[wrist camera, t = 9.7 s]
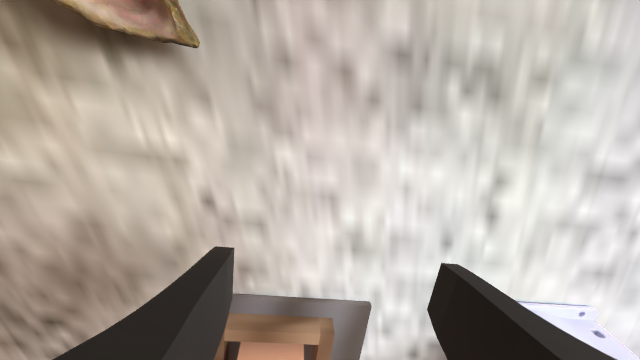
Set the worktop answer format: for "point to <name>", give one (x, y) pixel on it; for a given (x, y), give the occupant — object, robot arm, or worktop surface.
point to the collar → (296, 325)
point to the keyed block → (270, 351)
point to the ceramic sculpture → (138, 18)
